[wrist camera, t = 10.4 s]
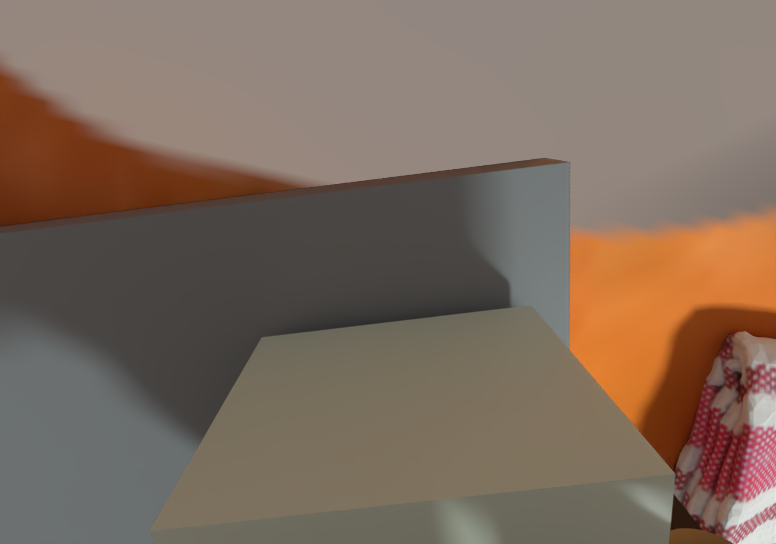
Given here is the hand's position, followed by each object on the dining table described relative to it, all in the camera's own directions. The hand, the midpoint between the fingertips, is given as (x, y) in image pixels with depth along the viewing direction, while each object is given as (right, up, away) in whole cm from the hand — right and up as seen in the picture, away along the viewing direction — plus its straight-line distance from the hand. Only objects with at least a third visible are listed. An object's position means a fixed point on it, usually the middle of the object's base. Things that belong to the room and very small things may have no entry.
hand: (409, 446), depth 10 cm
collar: (0, 0, 0) cm, 0 cm away
